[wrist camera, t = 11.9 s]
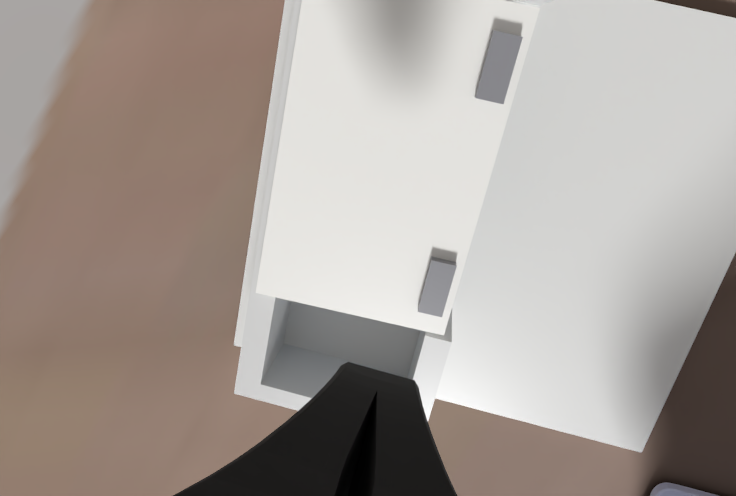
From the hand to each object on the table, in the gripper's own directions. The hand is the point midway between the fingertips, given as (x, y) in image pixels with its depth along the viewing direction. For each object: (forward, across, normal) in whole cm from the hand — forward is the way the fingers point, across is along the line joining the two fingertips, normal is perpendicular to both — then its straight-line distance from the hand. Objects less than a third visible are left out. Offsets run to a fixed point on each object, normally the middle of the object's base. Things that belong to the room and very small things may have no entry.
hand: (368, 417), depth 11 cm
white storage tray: (+10, -2, -2) cm, 10 cm away
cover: (+7, +1, -3) cm, 8 cm away
